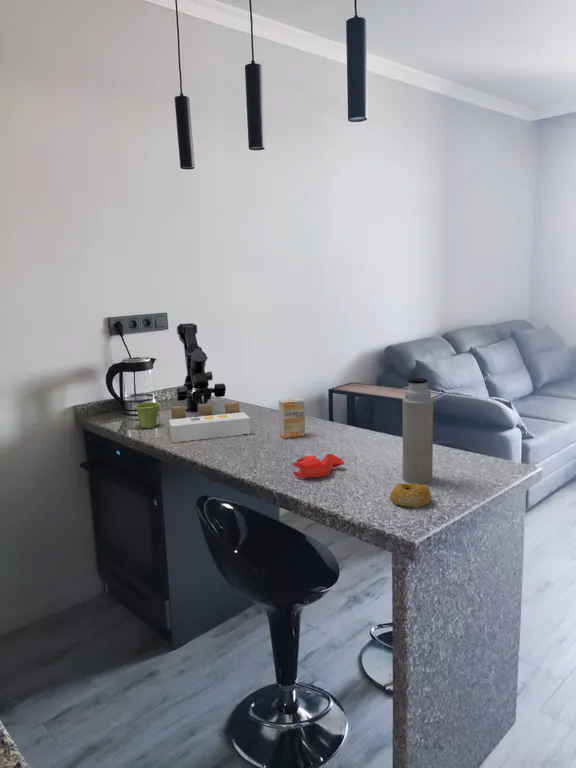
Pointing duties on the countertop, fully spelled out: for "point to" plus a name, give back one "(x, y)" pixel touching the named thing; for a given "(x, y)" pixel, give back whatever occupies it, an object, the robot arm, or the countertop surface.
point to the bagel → (411, 495)
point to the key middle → (204, 409)
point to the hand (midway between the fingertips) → (204, 410)
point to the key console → (209, 427)
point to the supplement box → (292, 418)
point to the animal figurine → (316, 466)
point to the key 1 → (178, 412)
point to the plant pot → (147, 414)
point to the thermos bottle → (417, 432)
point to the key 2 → (232, 408)
